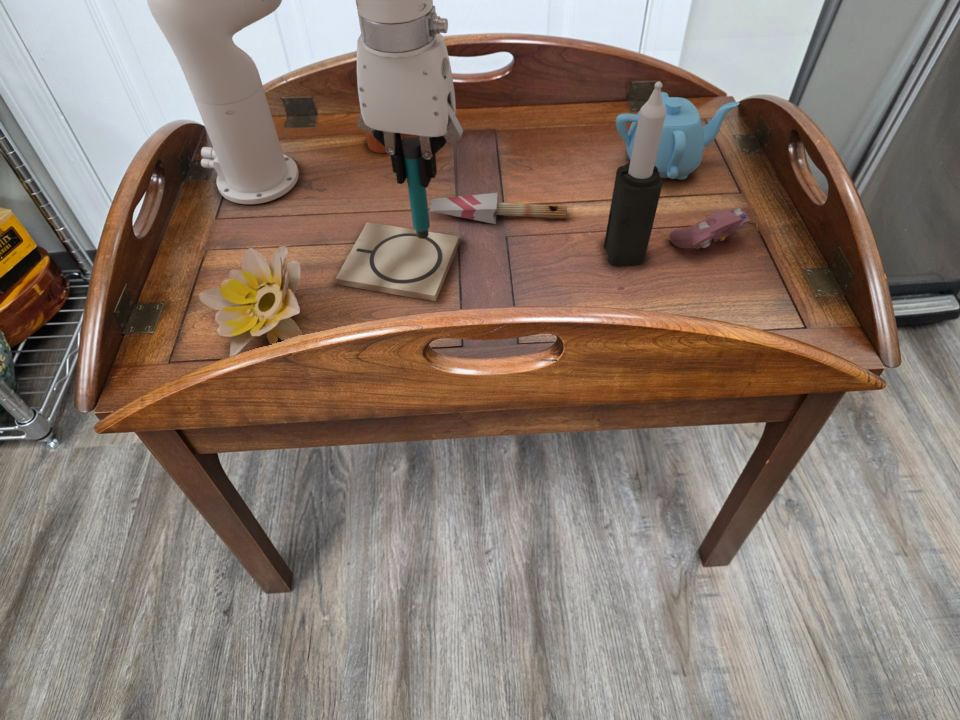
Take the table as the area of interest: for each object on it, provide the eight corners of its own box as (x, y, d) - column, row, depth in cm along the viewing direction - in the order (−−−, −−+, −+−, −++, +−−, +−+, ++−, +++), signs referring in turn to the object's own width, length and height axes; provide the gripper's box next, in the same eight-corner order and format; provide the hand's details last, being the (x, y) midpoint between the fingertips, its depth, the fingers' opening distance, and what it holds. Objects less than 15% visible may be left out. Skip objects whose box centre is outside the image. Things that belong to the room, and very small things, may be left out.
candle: (602, 242, 92) (630, 71, 72) (637, 239, 92) (675, 68, 73) (609, 267, 89) (641, 95, 69) (646, 264, 89) (688, 92, 69)
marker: (411, 239, 86) (398, 147, 75) (416, 228, 88) (405, 135, 77) (428, 242, 86) (418, 149, 75) (433, 230, 87) (424, 138, 76)
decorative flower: (195, 286, 86) (186, 226, 78) (281, 274, 90) (281, 218, 83) (217, 372, 78) (210, 316, 70) (311, 355, 83) (313, 300, 75)
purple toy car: (678, 264, 91) (704, 243, 84) (664, 236, 92) (688, 213, 85) (733, 241, 94) (762, 220, 87) (718, 214, 94) (746, 191, 88)
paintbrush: (431, 188, 95) (567, 197, 95) (432, 203, 98) (564, 212, 97) (428, 204, 93) (567, 213, 93) (429, 219, 95) (565, 228, 95)
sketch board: (337, 284, 88) (335, 277, 87) (368, 228, 95) (366, 221, 94) (435, 301, 85) (435, 294, 84) (459, 242, 93) (459, 235, 92)
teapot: (603, 166, 104) (611, 103, 95) (659, 128, 109) (672, 64, 100) (667, 203, 98) (682, 139, 89) (723, 160, 103) (742, 96, 94)
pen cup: (362, 151, 107) (353, 100, 100) (374, 132, 111) (366, 82, 103) (393, 155, 106) (386, 104, 99) (404, 136, 110) (398, 86, 103)
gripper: (483, 17, 66) (486, 169, 81) (337, 3, 69) (365, 153, 84) (464, 51, 62) (471, 207, 76) (309, 36, 65) (343, 188, 79)
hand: (415, 178), depth 80 cm, fingers closed on marker, 2 cm apart
